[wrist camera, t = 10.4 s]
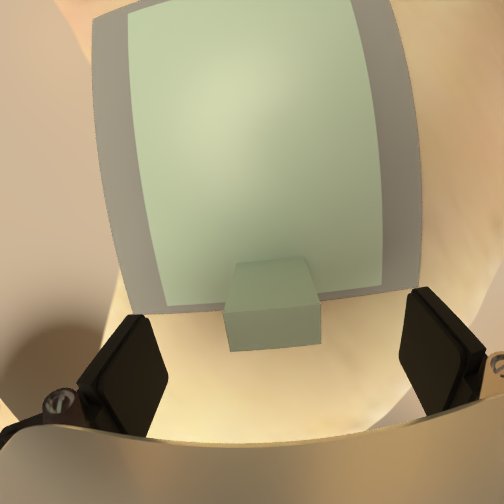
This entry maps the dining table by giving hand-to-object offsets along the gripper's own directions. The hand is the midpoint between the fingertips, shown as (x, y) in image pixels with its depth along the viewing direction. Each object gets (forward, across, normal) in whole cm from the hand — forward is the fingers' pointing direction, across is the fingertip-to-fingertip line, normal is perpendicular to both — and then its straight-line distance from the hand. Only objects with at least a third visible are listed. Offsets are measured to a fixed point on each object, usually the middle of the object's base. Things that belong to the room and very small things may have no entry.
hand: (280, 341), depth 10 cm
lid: (+9, 0, -8) cm, 12 cm away
